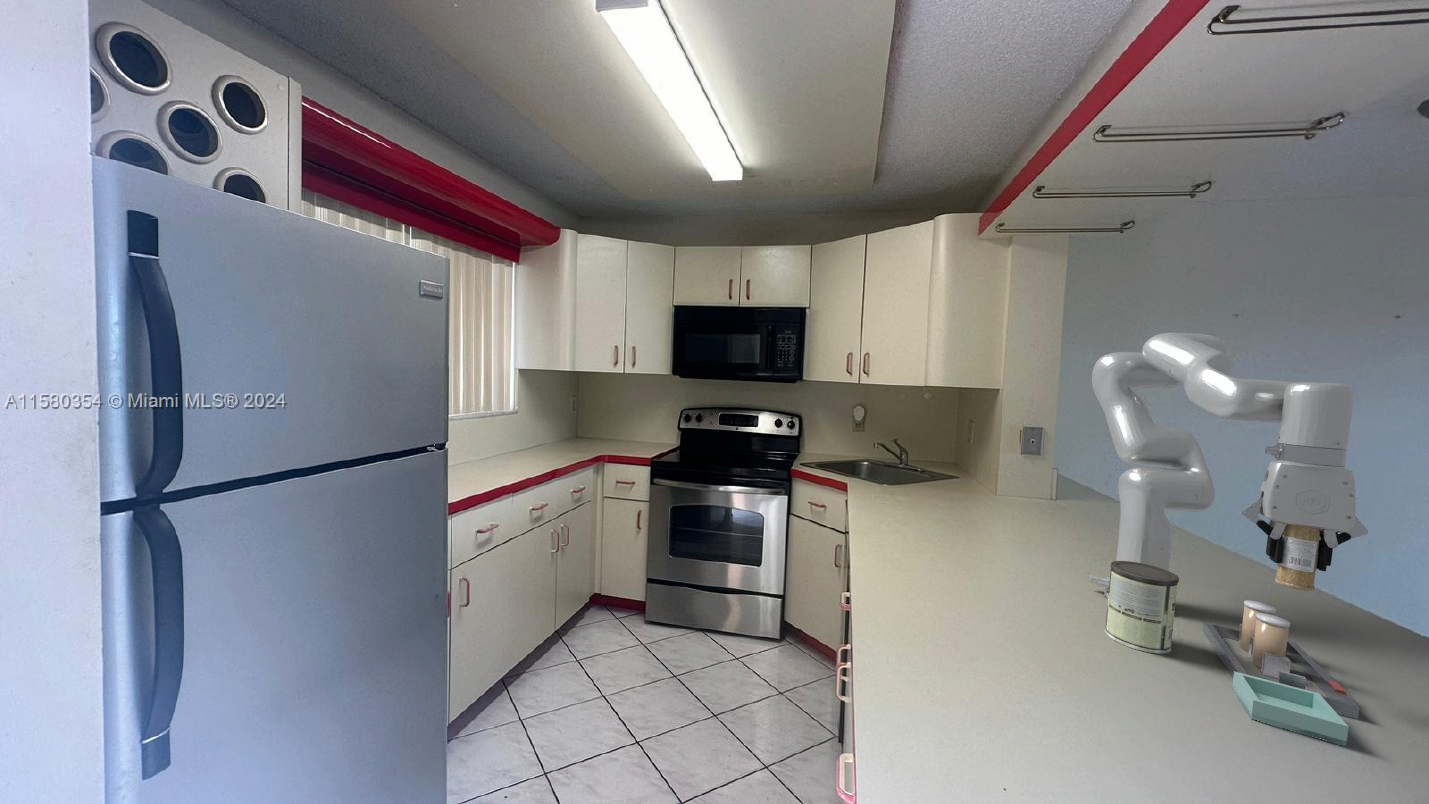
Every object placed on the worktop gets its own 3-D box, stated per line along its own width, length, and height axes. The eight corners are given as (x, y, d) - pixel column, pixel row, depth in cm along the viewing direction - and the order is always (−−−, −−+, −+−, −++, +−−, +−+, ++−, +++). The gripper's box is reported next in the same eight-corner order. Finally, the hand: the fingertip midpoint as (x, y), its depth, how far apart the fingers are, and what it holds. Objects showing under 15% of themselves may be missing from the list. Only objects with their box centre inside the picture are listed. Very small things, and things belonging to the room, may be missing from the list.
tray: (1251, 719, 78) (1253, 700, 78) (1232, 688, 87) (1234, 671, 86) (1346, 747, 73) (1348, 726, 73) (1316, 711, 81) (1318, 693, 81)
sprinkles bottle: (1316, 589, 87) (1326, 509, 86) (1311, 594, 84) (1321, 512, 84) (1276, 579, 91) (1286, 503, 90) (1270, 583, 88) (1280, 505, 87)
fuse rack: (1239, 687, 87) (1241, 667, 87) (1202, 631, 108) (1204, 614, 108) (1357, 719, 80) (1360, 697, 80) (1294, 652, 101) (1296, 634, 100)
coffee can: (1098, 622, 109) (1104, 556, 108) (1160, 635, 104) (1167, 567, 104) (1111, 645, 99) (1118, 572, 99) (1180, 660, 95) (1188, 584, 94)
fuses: (1255, 667, 94) (1260, 619, 93) (1236, 642, 103) (1241, 598, 103) (1288, 676, 92) (1294, 626, 91) (1265, 649, 101) (1271, 604, 101)
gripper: (1246, 452, 87) (1234, 559, 89) (1402, 467, 78) (1385, 585, 80) (1233, 448, 94) (1221, 547, 95) (1375, 461, 85) (1360, 571, 86)
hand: (1296, 563), depth 87 cm, fingers closed on sprinkles bottle, 4 cm apart
